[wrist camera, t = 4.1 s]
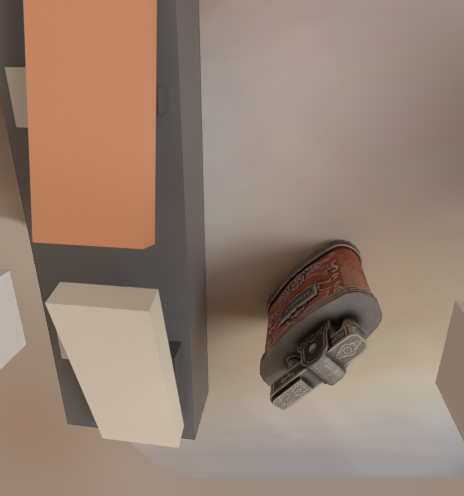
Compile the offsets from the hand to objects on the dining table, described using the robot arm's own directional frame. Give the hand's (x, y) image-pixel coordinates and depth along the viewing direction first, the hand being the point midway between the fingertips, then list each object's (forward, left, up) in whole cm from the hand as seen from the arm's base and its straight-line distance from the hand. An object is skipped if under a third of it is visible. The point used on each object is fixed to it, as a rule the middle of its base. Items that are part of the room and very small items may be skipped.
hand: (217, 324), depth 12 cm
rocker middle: (-6, -7, -8) cm, 12 cm away
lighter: (+7, +4, -16) cm, 18 cm away
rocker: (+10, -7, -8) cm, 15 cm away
